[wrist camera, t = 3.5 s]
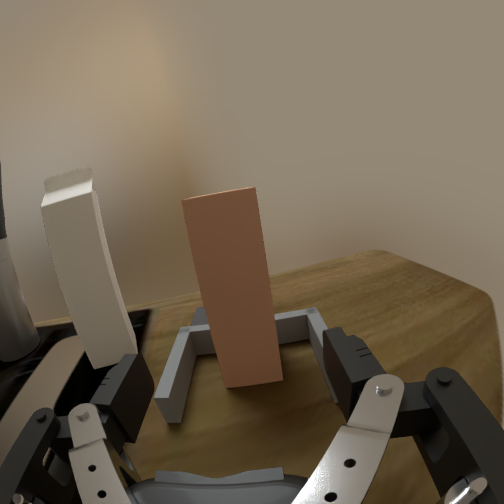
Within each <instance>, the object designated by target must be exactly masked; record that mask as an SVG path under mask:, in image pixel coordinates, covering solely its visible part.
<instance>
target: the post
mask: <svg viewBox="0 0 504 504" xmlns="http://www.w3.org/2000/svg"><path fill="white" fill-rule="evenodd" d="M182 206H183V211H184V217H185V222H186V227H187V232H188V237H189V242H190V247H191V252H192V256H193V261H194V266H195V270H196V274H197V279H198V283H199V288H200V292H201V296H202V300H203V304H204V308H205V312H206V316H207V320H208V324H209V328H210V332H211V336H212V340H213V343H214V347H215V351H216V354H217V358H218V361H219V365H220V368H221V372H222V375H223V379H224V382H225V385H226V388H232V387H241V386H249V385H256V384H263V383H270V382H276V381H282V380H283V375H282V367H281V360H280V352H279V345H278V338H277V330H276V323H275V316H274V309H273V302H272V295H271V288H270V281H269V275H268V268H267V261H266V254H265V248H264V241H263V234H262V228H261V222H260V215H259V208H258V202H257V196H256V189H255V187H248V188H242V189H236V190H230V191H224V192H219V193H213V194H208V195H202V196H197V197H192V198H189V199H185V200H182Z"/></svg>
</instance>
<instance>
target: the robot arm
mask: <svg viewBox="0 0 504 504" xmlns="http://www.w3.org/2000/svg"><path fill="white" fill-rule="evenodd" d="M6 237H7V235H6V230H5V217H4V209H3V200H2V185H1V164H0V360H1V361H3V362H11V361H15V360H18V359H20V358H22V357H24V356H26V355H28V354H29V353H30V352H32V351H33V350H34V349H35V348H36V347H37V346H38V344H39V343H40V337H39V335H38V333H37V330H36V328H35V326H34V323H33V321H32V318H31V316H30V313H29V310H28V308H27V305H26V302H25V299H24V297H23V294H22V291H21V288H20V285H19V281H18V278H17V275H16V272H15V268H14V264H13V261H12V257H11V253H10V248H9V244H8V240H7V238H6ZM322 337H323V361H324V367H325V371H326V374H327V376H328V378H329V381H330V383H331V385H332V388H333V390H334V393H335V395H336V397H337V400H338V402H339V405H340V407H341V410H342V412H343V414H344V417H345V419H346V422H347V424H346V425H345V424H343V425H342V426H341V427H340V429H339V431H338V432H337V434H336V436H335V438H334V440H333V441H332V443H331V445H330V446H329V448H328V450H327V452H326V453H325V455H324V457H323V458H322V460H321V461H320V463H319V465H318V466H317V468H316V469H315V471H314V472H313V474H312V475H311V477H310V478H306V477H301V476H296V475H286V474H283V468H282V467H278V468H270V469H262V470H252V471H247V472H243V473H239V474H235V475H231V476H227V477H223V478H218V479H213V478H208V477H203V476H199V475H195V474H190V473H186V472H174V471H161V470H157V472H156V476H155V478H151V479H146V480H143V481H142V480H141V478H140V476H139V475H138V473H137V471H136V469H135V467H134V465H133V463H132V461H131V459H130V457H129V455H128V453H127V451H126V449H125V448H124V447H123V445H124V442H129V443H135V442H136V439H137V436H138V433H139V430H140V428H141V425H142V422H143V419H144V417H145V414H146V411H147V409H148V406H149V403H150V401H151V398H152V395H153V393H154V381H153V379H152V376H151V374H150V372H149V369H148V367H147V365H146V362H145V360H144V358H143V356H142V355H141V354H125V355H124V356H123V357H122V359H121V360H120V362H119V364H117V365H115V366H114V367H113V368H112V369H111V370H109V372H108V373H107V375H106V376H105V379H104V380H103V381H102V383H101V385H100V386H99V388H98V389H97V391H96V392H95V394H94V396H93V397H92V399H91V401H90V402H89V403H85V404H80V405H78V406H76V407H75V408H73V409H72V410H71V412H70V413H69V416H62V417H57V416H56V415H55V413H54V412H53V410H52V409H50V408H41V409H39V410H37V411H36V412H34V413H33V415H32V416H31V417H30V419H29V421H28V422H27V424H26V426H25V427H24V428H23V430H22V431H21V433H20V435H19V436H18V438H17V440H16V441H15V443H14V445H13V446H12V448H11V450H10V451H9V453H8V455H7V457H6V459H5V460H4V462H3V464H2V465H1V468H0V504H70V503H71V500H72V497H73V494H74V491H75V488H76V485H77V487H78V490H79V494H80V497H81V500H82V502H83V504H362V502H363V500H364V498H365V496H366V494H367V492H368V490H369V488H370V486H371V484H372V482H373V479H374V477H375V475H376V473H377V470H378V468H379V465H380V463H381V461H382V458H383V456H384V453H385V450H386V448H387V445H388V442H389V440H390V438H398V437H406V436H412V437H413V439H414V441H415V443H416V445H417V447H418V449H419V451H420V453H421V455H422V457H423V459H424V461H425V463H426V466H427V468H428V470H429V472H430V474H431V477H432V479H433V481H434V483H435V486H436V488H437V490H438V492H439V495H440V497H441V499H440V500H439V501H438V502H437V503H436V504H504V430H503V428H502V427H501V426H500V424H499V423H498V422H497V420H496V419H495V418H494V416H493V415H492V414H491V412H490V411H489V410H488V409H487V407H486V406H485V405H484V404H483V402H482V401H481V400H480V399H479V397H478V396H477V395H476V394H475V392H474V391H473V390H472V389H471V388H470V386H469V385H468V384H467V383H466V382H465V380H464V379H463V378H462V377H461V376H460V375H459V373H458V372H456V371H455V370H453V369H451V368H446V367H441V368H436V369H434V370H432V371H430V372H429V373H428V375H427V377H426V380H425V381H421V382H414V383H403V382H402V380H401V379H400V378H398V377H396V376H394V375H390V374H386V372H385V371H384V369H383V368H382V366H381V365H380V364H379V362H378V361H377V359H376V358H375V357H374V355H373V354H372V352H371V351H370V350H369V348H368V347H367V345H366V344H365V343H364V341H363V340H362V339H360V338H358V337H357V336H355V335H351V336H346V335H345V333H344V331H343V330H342V328H341V327H336V328H331V329H327V330H323V333H322ZM49 447H50V448H51V449H52V450H53V452H54V453H55V454H56V455H55V457H54V459H53V462H52V464H51V466H50V468H49V470H48V472H47V471H46V470H45V469H44V467H43V458H44V456H45V454H46V452H47V450H48V448H49Z"/></svg>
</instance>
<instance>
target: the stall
mask: <svg viewBox="0 0 504 504" xmlns="http://www.w3.org/2000/svg"><path fill="white" fill-rule="evenodd" d="M274 316H275V323H276V330H277V338H278V344H284V343H290V342H295V341H300V340H306V339H309V340H310V343H311V345H312V348H313V350H314V353H315V355H316V357H317V360H318V362H319V365H320V367H321V370H322V372H323V375H324V377H325V380H326V382H327V385H328V387H329V390H330V392H331V395H332V397H333V400H334V402H335V403H339V402H338V400H337V397H336V395H335V393H334V390H333V388H332V385H331V383H330V381H329V378H328V376H327V374H326V371H325V367H324V361H323V337H322V333H323V330H327V329H328V328H327V326H326V324H325V323H324V321H323V319H322V317H321V316H320V314H319V312H318V310H317V309H316V307H313V308H308V309H303V310H297V311H292V312H286V313H280V314H274ZM213 353H216V351H215V347H214V343H213V340H212V336H211V332H210V328H209V324H205V325H197V326H188V327H181V328H180V330H179V333H178V335H177V338H176V340H175V343H174V346H173V348H172V351H171V353H170V356H169V358H168V361H167V364H166V366H165V369H164V371H163V374H162V377H161V379H160V382H159V385H158V387H157V390H156V393H155V396H154V399H155V401H156V403H157V405H158V407H159V409H160V411H161V413H162V415H163V417H164V418H165V420H166V422H167V423H181V420H182V416H183V411H184V407H185V402H186V398H187V394H188V389H189V385H190V381H191V377H192V372H193V368H194V364H195V360H196V356H197V355H204V354H213Z"/></svg>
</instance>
